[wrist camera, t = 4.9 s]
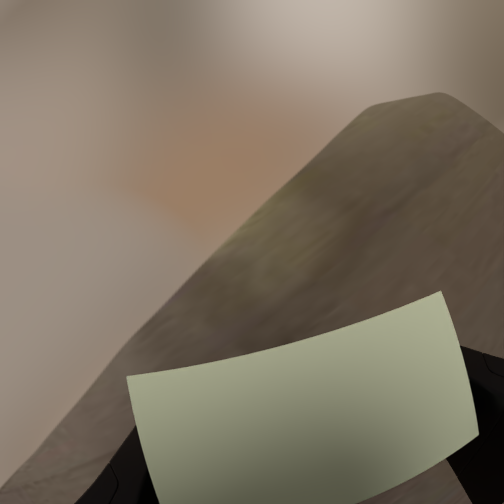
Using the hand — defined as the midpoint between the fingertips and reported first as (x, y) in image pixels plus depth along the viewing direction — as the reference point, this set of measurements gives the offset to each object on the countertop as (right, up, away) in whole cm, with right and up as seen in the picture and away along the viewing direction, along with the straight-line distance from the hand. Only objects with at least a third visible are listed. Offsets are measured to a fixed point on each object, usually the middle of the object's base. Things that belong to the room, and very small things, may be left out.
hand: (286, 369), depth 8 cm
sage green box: (0, -4, +6) cm, 7 cm away
